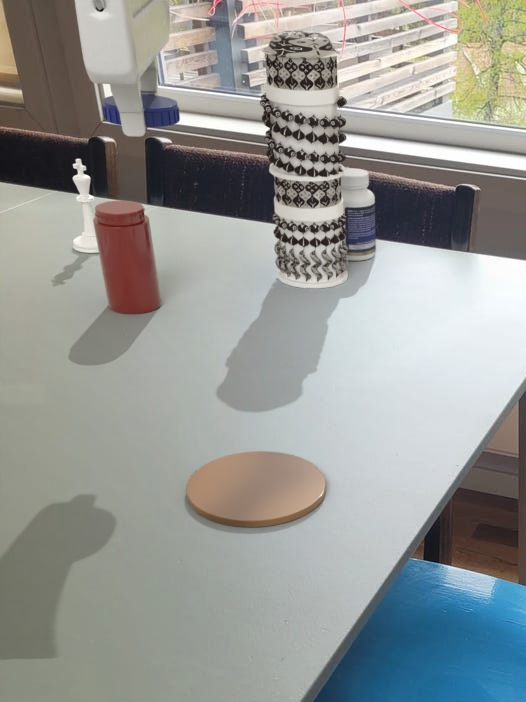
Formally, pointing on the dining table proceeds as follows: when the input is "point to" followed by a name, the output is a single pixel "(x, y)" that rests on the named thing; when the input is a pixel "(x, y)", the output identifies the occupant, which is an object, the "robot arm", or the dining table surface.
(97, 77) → the robot arm
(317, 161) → the decorative candle
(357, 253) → the pill bottle
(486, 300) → the dining table surface
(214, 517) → the coaster
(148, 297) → the jar
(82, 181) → the chess piece
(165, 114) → the lid
